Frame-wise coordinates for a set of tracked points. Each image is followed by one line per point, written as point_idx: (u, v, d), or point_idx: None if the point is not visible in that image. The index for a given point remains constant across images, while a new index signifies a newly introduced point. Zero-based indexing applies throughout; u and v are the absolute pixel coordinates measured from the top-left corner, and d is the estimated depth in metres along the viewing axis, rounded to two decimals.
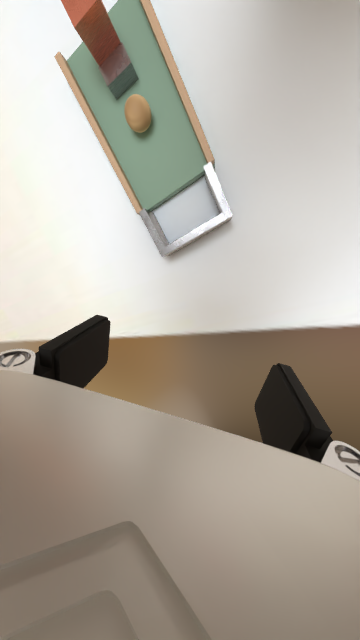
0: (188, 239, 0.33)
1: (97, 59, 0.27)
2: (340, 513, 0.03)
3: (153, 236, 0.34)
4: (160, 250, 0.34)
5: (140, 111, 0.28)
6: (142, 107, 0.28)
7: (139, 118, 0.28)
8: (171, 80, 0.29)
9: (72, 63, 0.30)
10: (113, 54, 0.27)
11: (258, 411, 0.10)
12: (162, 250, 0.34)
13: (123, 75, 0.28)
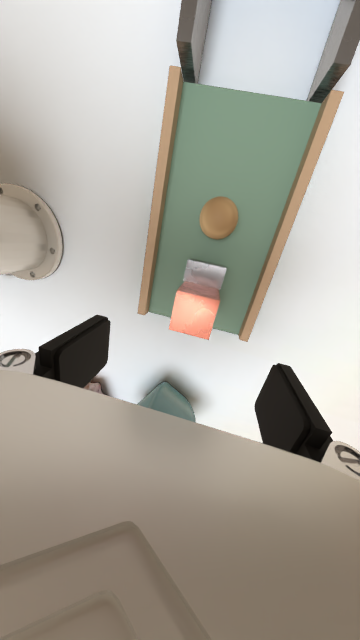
0: None
1: (216, 289, 0.21)
2: (340, 513, 0.03)
3: None
4: None
5: (215, 204, 0.18)
6: (209, 206, 0.19)
7: (222, 200, 0.18)
8: (162, 224, 0.23)
9: (235, 328, 0.26)
10: (198, 281, 0.22)
11: (258, 411, 0.10)
12: None
13: (203, 262, 0.22)
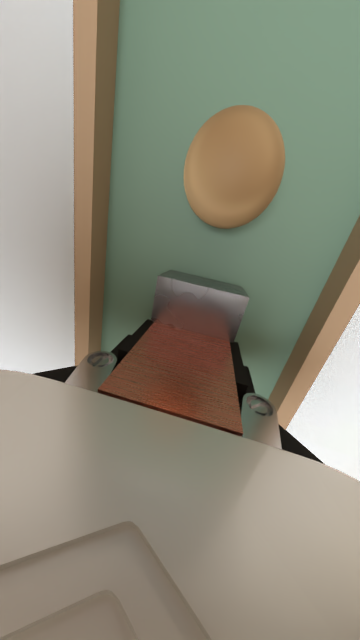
0: None
1: (224, 347, 0.09)
2: (340, 513, 0.03)
3: None
4: None
5: (226, 120, 0.06)
6: (208, 129, 0.07)
7: (246, 110, 0.06)
8: (111, 200, 0.11)
9: None
10: (183, 324, 0.10)
11: None
12: None
13: (194, 282, 0.10)
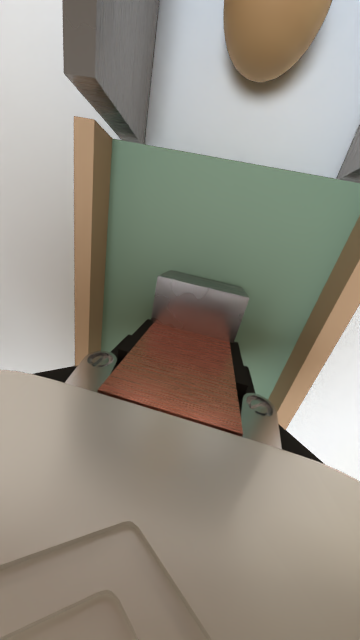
0: None
1: (224, 348, 0.09)
2: (340, 513, 0.03)
3: None
4: None
5: None
6: None
7: None
8: (102, 346, 0.15)
9: None
10: (183, 324, 0.10)
11: None
12: None
13: (194, 282, 0.10)
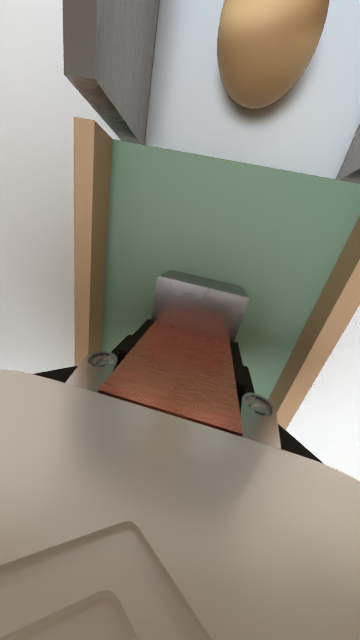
0: None
1: (224, 348, 0.09)
2: (340, 513, 0.03)
3: None
4: None
5: None
6: None
7: None
8: (102, 346, 0.15)
9: None
10: (183, 324, 0.10)
11: None
12: None
13: (194, 282, 0.10)
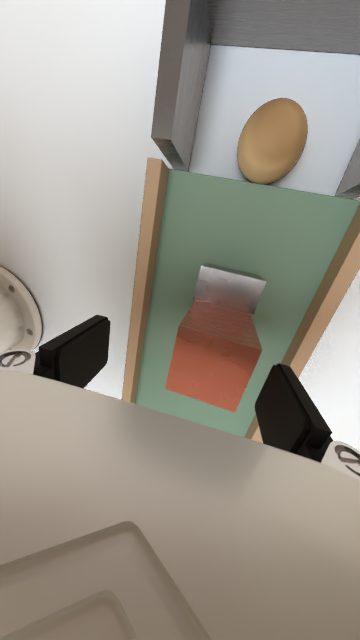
0: None
1: (247, 316, 0.13)
2: (340, 513, 0.03)
3: None
4: None
5: (271, 108, 0.10)
6: (259, 115, 0.11)
7: (284, 101, 0.10)
8: (147, 322, 0.19)
9: None
10: (217, 301, 0.14)
11: (258, 411, 0.10)
12: None
13: (226, 270, 0.13)
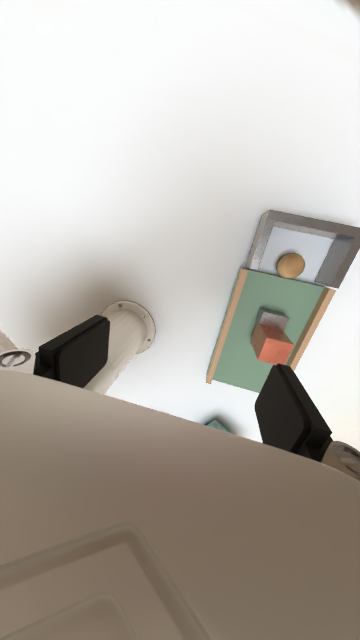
0: (326, 223, 0.26)
1: (282, 332, 0.32)
2: (340, 513, 0.03)
3: (352, 257, 0.27)
4: None
5: (293, 259, 0.30)
6: (288, 260, 0.30)
7: (297, 257, 0.30)
8: (226, 333, 0.38)
9: None
10: (269, 325, 0.33)
11: (258, 411, 0.10)
12: None
13: (273, 313, 0.33)
